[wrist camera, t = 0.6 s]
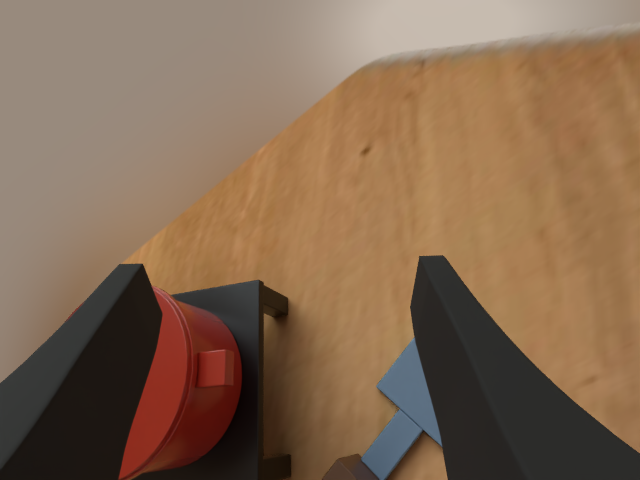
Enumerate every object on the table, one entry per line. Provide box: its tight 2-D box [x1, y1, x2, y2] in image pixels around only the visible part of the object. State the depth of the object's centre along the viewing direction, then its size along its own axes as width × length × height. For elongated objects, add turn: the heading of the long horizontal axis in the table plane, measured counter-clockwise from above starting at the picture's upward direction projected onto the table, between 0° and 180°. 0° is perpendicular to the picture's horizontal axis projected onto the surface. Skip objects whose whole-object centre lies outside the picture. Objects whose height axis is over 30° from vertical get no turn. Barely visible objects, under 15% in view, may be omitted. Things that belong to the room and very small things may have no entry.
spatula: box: [322, 337, 442, 480], centre depth 23 cm, size 16×5×3 cm, turn 138°
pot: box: [65, 280, 291, 480], centre depth 25 cm, size 11×12×10 cm
